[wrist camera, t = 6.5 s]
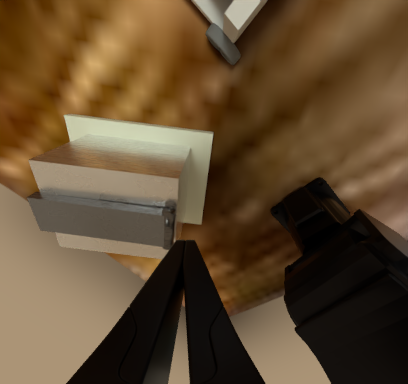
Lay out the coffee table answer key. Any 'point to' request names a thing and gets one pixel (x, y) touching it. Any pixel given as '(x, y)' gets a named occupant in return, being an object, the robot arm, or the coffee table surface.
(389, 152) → the coffee table surface
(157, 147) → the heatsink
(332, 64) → the coffee table surface
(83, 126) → the board
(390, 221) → the coffee table surface
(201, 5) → the toy car
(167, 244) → the strap
